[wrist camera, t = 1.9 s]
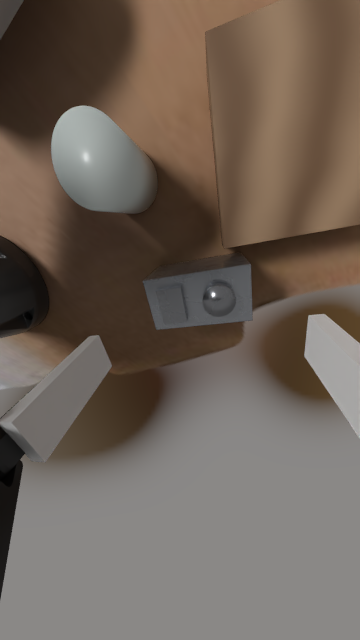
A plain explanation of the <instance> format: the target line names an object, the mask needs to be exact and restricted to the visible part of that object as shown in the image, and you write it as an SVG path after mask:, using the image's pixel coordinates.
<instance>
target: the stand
mask: <svg viewBox="0 0 360 640" xmlns="http://www.w3.org/2000/svg"><path fill="white" fill-rule="evenodd" d="M205 39H206V69H207V82H208V93H209V104H210V116H211V127H212V138H213V149H214V160H215V171H216V182H217V194H218V205H219V216H220V227H221V238H222V245H223V248H224V249H225V248H231V247H236V246H242V245H248V244H253V243H259V242H264V241H270V240H276V239H281V238H287V237H292V236H298V235H304V234H309V233H315V232H320V231H326V230H332V229H337V228H343V227H348V226H354V225H360V0H280V1H277V2H275V3H273V4H270V5H268V6H265V7H263V8H261V9H258V10H256V11H254V12H251V13H249V14H246V15H244V16H242V17H239V18H237V19H235V20H232V21H230V22H228V23H225V24H223V25H220V26H218V27H216V28H213V29H211V30H209V31H206V32H205Z"/></svg>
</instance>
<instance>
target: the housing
mask: <svg viewBox="0 0 360 640" xmlns="http://www.w3.org/2000/svg"><path fill="white" fill-rule="evenodd" d="M143 284H144V287H145V291H146V295H147V298H148V302H149V305H150V309H151V313H152V316H153V320H154V323H155V327H156V330H159V329H170V328H180V327H190V326H200V325H211V324H221V323H231V322H241V321H251V320H252V286H251V264H250V262H249V261H248V260H247V259H246V258H245V257H244V256H243V255H242V253H241V252H238V253H233V254H227V255H221V256H215V257H209V258H203V259H198V260H192V261H186V262H180V263H174V264H169V265H163V266H159V267H158V268H157V269H156V270H155V271H153V272H152V273H151V274H150V275H149V276H148V277H147V278H145V279H144V280H143Z"/></svg>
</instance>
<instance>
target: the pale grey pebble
mask: <svg viewBox="0 0 360 640" xmlns="http://www.w3.org/2000/svg"><path fill="white" fill-rule="evenodd" d="M51 155H52V162H53V166H54V170H55V173H56V175H57V178H58V180H59V182H60V184H61V186H62V187H63V189H64V190H65V192H66V193H67V194H68V195H69V196H70V197H71V198H72V199H73V200H74V201H75V202H76V203H77V204H79V205H80V206H82V207H84V208H86V209H89V210H93V211H104V212H117V213H129V214H137V213H141V212H143V211H145V210H146V209H148V208H149V207H150V206H151V204H152V203H153V201H154V199H155V197H156V194H157V189H158V178H157V173H156V169H155V167H154V165H153V163H152V161H151V159H150V158H149V157H148V156H147V155H146V154H145V153H144V152H143V151H142V150H141V149H140V148H139V147H138V146H137V145H136V144H135V143H134V142H133V141H132V140H131V139H130V138H129V137H128V136H127V135H126V134H125V133H124V132H123V131H122V130H121V129H120V128H119V127H118V126H117V125H116V124H115V123H114V122H113V121H112V120H111V119H110V118H109V117H108V116H107V115H106V114H105V113H103V112H102V111H100V110H98V109H96V108H93V107H90V106H76V107H73V108H71V109H69V110H67V111H66V112H65V113H64V114H63V115H62V116H61V117H60V118H59V120H58V122H57V123H56V126H55V128H54V131H53V135H52V141H51Z"/></svg>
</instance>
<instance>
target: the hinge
mask: <svg viewBox="0 0 360 640" xmlns="http://www.w3.org/2000/svg"><path fill="white" fill-rule="evenodd" d="M23 1H24V0H0V40H1V38H2V36H3V34H4V33H5V31H6V29H7V28H8V26H9V24H10V23H11V21H12V19H13V18H14V16H15V14H16V13H17V11H18V9H19V8H20V6H21V4H22V2H23Z"/></svg>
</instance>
